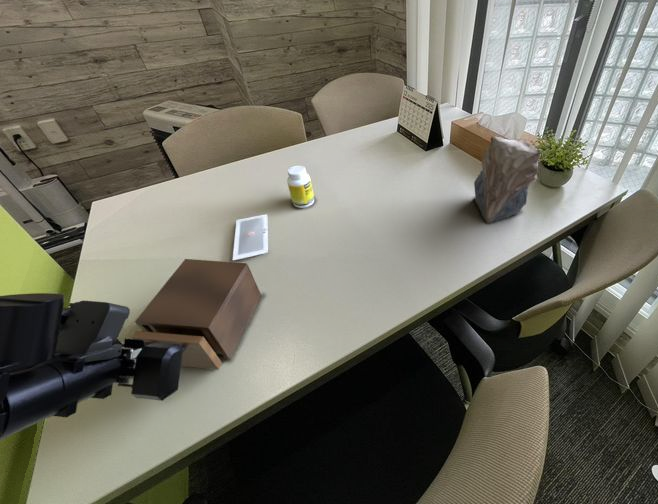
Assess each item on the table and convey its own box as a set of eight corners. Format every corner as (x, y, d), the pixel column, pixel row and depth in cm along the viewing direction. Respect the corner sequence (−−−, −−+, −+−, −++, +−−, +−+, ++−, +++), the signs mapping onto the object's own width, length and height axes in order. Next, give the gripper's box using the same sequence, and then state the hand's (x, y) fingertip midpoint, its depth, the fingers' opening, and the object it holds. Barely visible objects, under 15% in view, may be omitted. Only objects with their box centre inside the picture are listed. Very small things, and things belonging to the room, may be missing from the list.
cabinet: (230, 359, 58) (208, 327, 52) (164, 353, 59) (134, 321, 53) (262, 296, 69) (247, 263, 62) (205, 292, 70) (185, 258, 63)
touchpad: (234, 263, 76) (231, 257, 75) (237, 223, 87) (235, 217, 86) (269, 255, 78) (266, 249, 77) (268, 217, 89) (266, 211, 88)
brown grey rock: (470, 195, 97) (480, 134, 84) (510, 191, 98) (526, 131, 86) (485, 223, 87) (499, 159, 74) (529, 219, 88) (551, 154, 76)
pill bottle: (312, 208, 92) (304, 176, 85) (290, 208, 92) (281, 176, 85) (316, 195, 97) (310, 163, 90) (296, 195, 97) (288, 163, 90)
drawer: (203, 399, 52) (180, 374, 47) (137, 392, 53) (107, 367, 48) (251, 307, 66) (237, 279, 60) (197, 302, 67) (179, 275, 61)
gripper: (134, 320, 34) (222, 295, 50) (-25, 306, 36) (109, 286, 51) (117, 431, 33) (213, 371, 49) (-46, 414, 35) (98, 360, 50)
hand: (158, 344), depth 50 cm, fingers closed
